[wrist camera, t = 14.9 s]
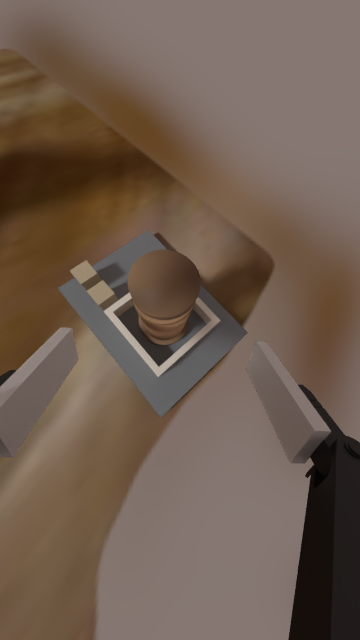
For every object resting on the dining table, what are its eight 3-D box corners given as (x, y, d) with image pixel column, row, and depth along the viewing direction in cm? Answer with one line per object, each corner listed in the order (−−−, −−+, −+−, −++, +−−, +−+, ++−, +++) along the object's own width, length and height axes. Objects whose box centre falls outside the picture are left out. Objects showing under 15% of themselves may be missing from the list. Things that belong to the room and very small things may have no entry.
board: (63, 292, 27) (44, 277, 23) (149, 236, 31) (147, 214, 27) (161, 414, 24) (160, 423, 20) (243, 334, 28) (258, 327, 24)
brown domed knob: (129, 319, 26) (102, 274, 14) (166, 290, 27) (169, 230, 16) (161, 356, 25) (159, 340, 13) (197, 324, 26) (223, 286, 15)
